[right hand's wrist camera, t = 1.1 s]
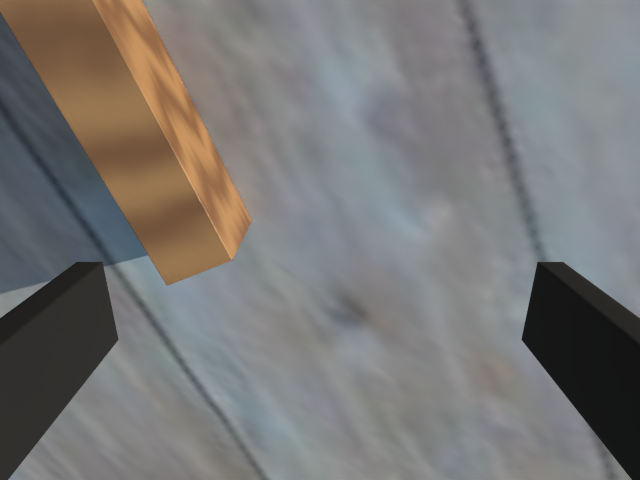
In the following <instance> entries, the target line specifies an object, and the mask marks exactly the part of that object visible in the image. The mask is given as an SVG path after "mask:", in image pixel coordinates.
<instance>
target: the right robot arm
mask: <svg viewBox="0 0 640 480" xmlns="http://www.w3.org/2000/svg"><path fill="white" fill-rule="evenodd" d="M117 341H118V335H117V331H116V326H115V321H114V316H113V311H112V306H111V302H110V297H109V292H108V287H107V282H106V277H105V273H104V268H103V263H102V262H76V263H75V264H74V265H72V266H71V267H70V268H68V269H67V270H65V271H64V272H63V273H61V274H60V275H59V276H57V277H56V278H55V279H53V280H52V281H50V282H49V283H48V284H46V285H45V286H44V287H42V288H41V289H40V290H38V291H37V292H35V293H34V294H33V295H31V296H30V297H29V298H27V299H26V300H25V301H23V302H22V303H21V304H19V305H18V306H16V307H15V308H14V309H12V310H11V311H10V312H8V313H7V314H6V315H4V316H3V317H1V318H0V480H8V479H9V478H10V476H11V475H12V474H13V473H14V471H15V470H16V469H17V468H18V466H19V465H20V464H21V463H22V461H23V460H24V459H25V457H26V456H27V455H28V454H29V452H30V451H31V450H32V449H33V447H34V446H35V445H36V444H37V442H38V441H39V440H40V438H41V437H42V436H43V435H44V433H45V432H46V431H47V430H48V428H49V427H50V426H51V424H52V423H53V422H54V421H55V419H56V418H57V417H58V416H59V414H60V413H61V412H62V411H63V409H64V408H65V407H66V405H67V404H68V403H69V402H70V400H71V399H72V398H73V397H74V395H75V394H76V393H77V391H78V390H79V389H80V388H81V386H82V385H83V384H84V383H85V381H86V380H87V379H88V378H89V376H90V375H91V374H92V372H93V371H94V370H95V369H96V367H97V366H98V365H99V364H100V362H101V361H102V360H103V358H104V357H105V356H106V355H107V353H108V352H109V351H110V350H111V348H112V347H113V346H114V345H115V343H116V342H117ZM522 341H523V342H524V343H525V345H526V346H527V347H528V348H529V350H530V351H531V352H532V353H533V355H534V356H535V357H536V358H537V360H538V361H539V362H540V364H541V365H542V366H543V367H544V369H545V370H546V371H547V372H548V374H549V375H550V376H551V378H552V379H553V380H554V381H555V383H556V384H557V385H558V386H559V388H560V389H561V390H562V391H563V393H564V394H565V395H566V397H567V398H568V399H569V400H570V402H571V403H572V404H573V405H574V407H575V408H576V409H577V411H578V412H579V413H580V414H581V416H582V417H583V418H584V419H585V421H586V422H587V423H588V424H589V426H590V427H591V428H592V430H593V431H594V432H595V433H596V435H597V436H598V437H599V438H600V440H601V441H602V442H603V444H604V445H605V446H606V447H607V449H608V450H609V451H610V452H611V454H612V455H613V456H614V457H615V459H616V460H617V461H618V463H619V464H620V465H621V466H622V468H623V469H624V470H625V471H626V473H627V474H628V475H629V476H630V478H631V479H632V480H640V318H639V317H637V316H636V315H634V314H633V313H632V312H630V311H629V310H628V309H626V308H625V307H624V306H622V305H621V304H619V303H618V302H617V301H615V300H614V299H613V298H611V297H610V296H609V295H607V294H606V293H604V292H603V291H602V290H600V289H599V288H598V287H596V286H595V285H594V284H592V283H591V282H590V281H588V280H587V279H585V278H584V277H583V276H581V275H580V274H579V273H577V272H576V271H575V270H573V269H572V268H570V267H569V266H568V265H566V264H565V263H564V262H538V263H537V268H536V273H535V277H534V282H533V287H532V292H531V297H530V302H529V306H528V311H527V316H526V321H525V326H524V331H523V335H522Z"/></svg>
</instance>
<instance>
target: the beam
mask: <svg viewBox="0 0 640 480" xmlns="http://www.w3.org/2000/svg"><path fill="white" fill-rule="evenodd" d="M0 13H1V15H2V16H3V18H4V19H5V21H6V23H7V24H8V26H9V28H10V29H11V31H12V33H13V34H14V36H15V37H16V39H17V41H18V42H19V44H20V46H21V47H22V49H23V51H24V52H25V54H26V55H27V57H28V59H29V60H30V62H31V64H32V65H33V67H34V69H35V70H36V72H37V74H38V75H39V77H40V78H41V80H42V82H43V83H44V85H45V87H46V88H47V90H48V92H49V93H50V95H51V96H52V98H53V100H54V101H55V103H56V105H57V106H58V108H59V110H60V111H61V113H62V114H63V116H64V118H65V119H66V121H67V123H68V124H69V126H70V128H71V129H72V131H73V132H74V134H75V136H76V137H77V139H78V141H79V142H80V144H81V146H82V147H83V149H84V151H85V152H86V154H87V155H88V157H89V159H90V160H91V162H92V164H93V165H94V167H95V169H96V170H97V172H98V173H99V175H100V177H101V178H102V180H103V182H104V183H105V185H106V187H107V188H108V190H109V191H110V193H111V195H112V196H113V198H114V200H115V201H116V203H117V205H118V206H119V208H120V209H121V211H122V213H123V214H124V216H125V218H126V219H127V221H128V223H129V224H130V226H131V227H132V229H133V231H134V232H135V234H136V236H137V237H138V239H139V241H140V242H141V244H142V246H143V247H144V249H145V250H146V252H147V254H148V255H149V257H150V259H151V260H152V262H153V264H154V265H155V267H156V268H157V270H158V272H159V273H160V275H161V277H162V278H163V280H164V282H165V283H166V285H170V284H173V283H175V282H178V281H180V280H183V279H185V278H188V277H190V276H193V275H195V274H198V273H201V272H203V271H206V270H208V269H211V268H213V267H216V266H218V265H221V264H223V263H226V262H229V261H231V260H232V259H233V257H234V255H235V253H236V251H237V249H238V247H239V245H240V243H241V241H242V239H243V237H244V235H245V233H246V231H247V229H248V227H249V225H250V223H251V219H250V217H249V215H248V213H247V211H246V209H245V207H244V205H243V203H242V201H241V199H240V197H239V195H238V193H237V191H236V189H235V187H234V185H233V183H232V181H231V179H230V177H229V175H228V173H227V171H226V169H225V167H224V165H223V163H222V161H221V159H220V157H219V155H218V153H217V151H216V148H215V146H214V144H213V142H212V140H211V138H210V136H209V134H208V132H207V130H206V128H205V126H204V124H203V122H202V120H201V118H200V116H199V114H198V112H197V110H196V108H195V106H194V104H193V102H192V100H191V98H190V96H189V94H188V92H187V90H186V88H185V86H184V84H183V82H182V80H181V78H180V76H179V74H178V72H177V70H176V68H175V66H174V64H173V62H172V60H171V58H170V56H169V54H168V52H167V50H166V48H165V46H164V44H163V42H162V40H161V38H160V36H159V34H158V32H157V30H156V28H155V26H154V24H153V22H152V20H151V18H150V16H149V14H148V12H147V10H146V8H145V6H144V4H143V2H142V0H0Z"/></svg>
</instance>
